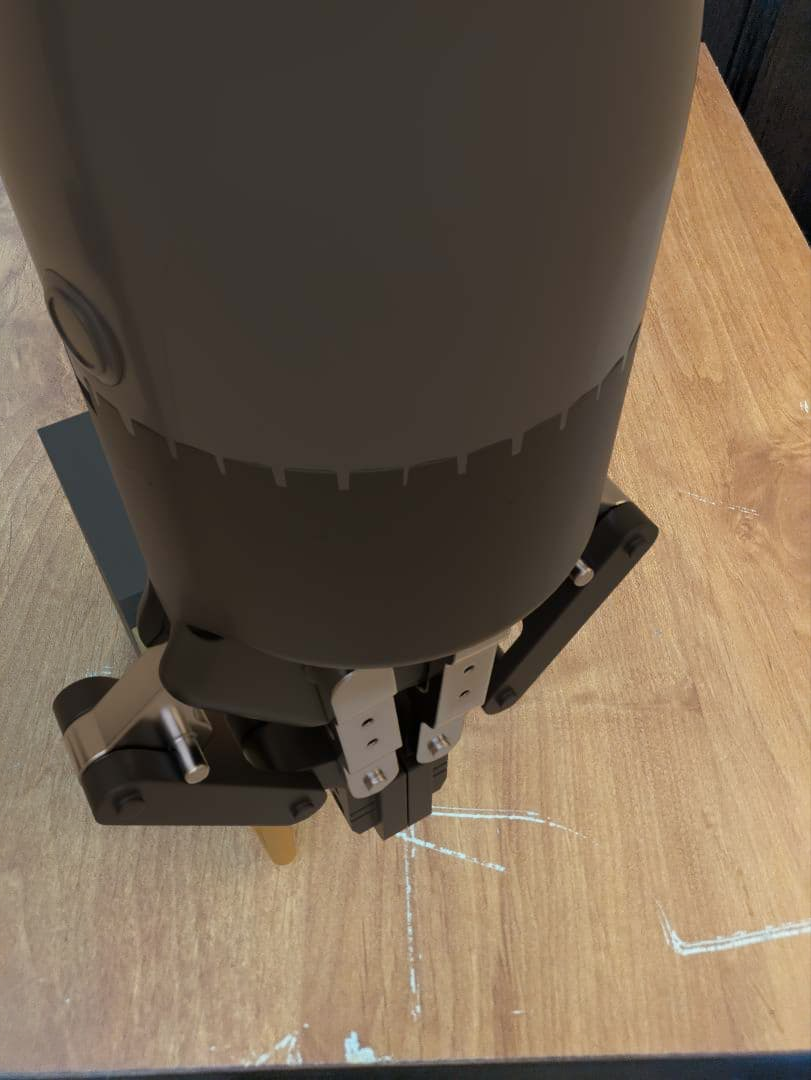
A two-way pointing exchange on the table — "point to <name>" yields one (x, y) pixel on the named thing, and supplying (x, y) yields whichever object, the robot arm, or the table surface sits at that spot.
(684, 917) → the table surface
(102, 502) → the cupboard
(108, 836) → the table surface
